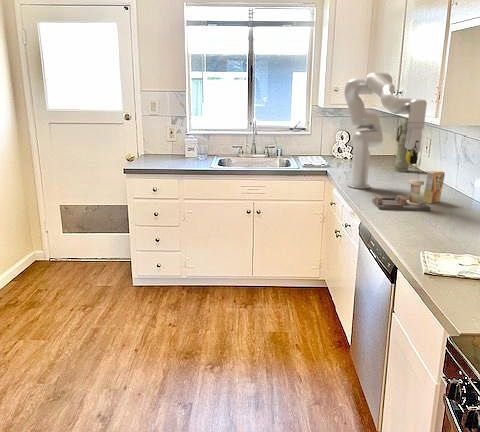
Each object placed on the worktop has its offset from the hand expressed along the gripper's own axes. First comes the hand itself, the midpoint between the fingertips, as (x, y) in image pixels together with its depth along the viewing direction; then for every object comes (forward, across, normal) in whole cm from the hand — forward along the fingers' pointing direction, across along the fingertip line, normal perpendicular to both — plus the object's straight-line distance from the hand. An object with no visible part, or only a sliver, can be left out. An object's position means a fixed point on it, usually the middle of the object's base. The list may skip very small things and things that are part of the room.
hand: (411, 162), depth 226 cm
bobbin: (+19, +10, 0) cm, 21 cm away
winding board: (+20, +10, -6) cm, 23 cm away
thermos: (+19, -81, +20) cm, 86 cm away
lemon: (+2, 0, 0) cm, 2 cm away
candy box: (+20, -1, +13) cm, 24 cm away
